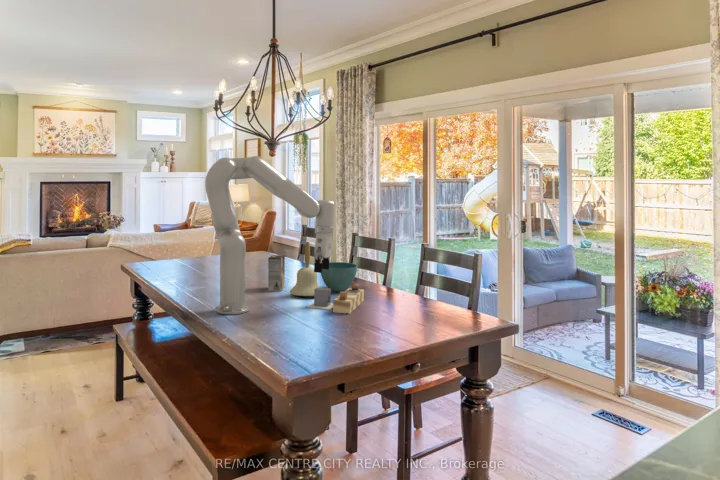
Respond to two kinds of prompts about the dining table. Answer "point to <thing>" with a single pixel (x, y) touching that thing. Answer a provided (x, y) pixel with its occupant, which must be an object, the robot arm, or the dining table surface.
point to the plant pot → (339, 275)
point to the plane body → (348, 299)
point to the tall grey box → (322, 297)
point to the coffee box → (276, 272)
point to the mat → (321, 307)
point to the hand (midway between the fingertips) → (321, 270)
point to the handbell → (305, 277)
